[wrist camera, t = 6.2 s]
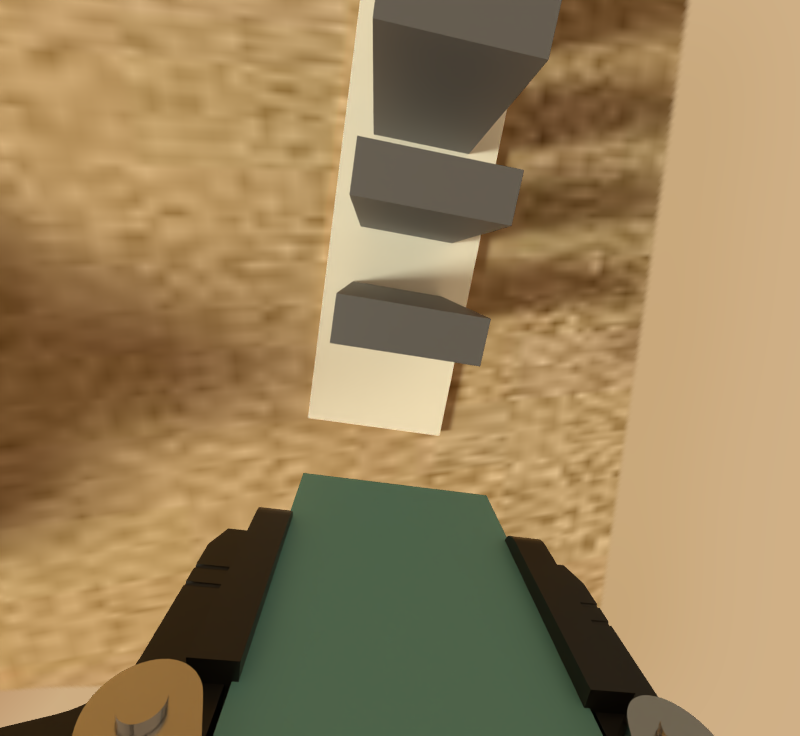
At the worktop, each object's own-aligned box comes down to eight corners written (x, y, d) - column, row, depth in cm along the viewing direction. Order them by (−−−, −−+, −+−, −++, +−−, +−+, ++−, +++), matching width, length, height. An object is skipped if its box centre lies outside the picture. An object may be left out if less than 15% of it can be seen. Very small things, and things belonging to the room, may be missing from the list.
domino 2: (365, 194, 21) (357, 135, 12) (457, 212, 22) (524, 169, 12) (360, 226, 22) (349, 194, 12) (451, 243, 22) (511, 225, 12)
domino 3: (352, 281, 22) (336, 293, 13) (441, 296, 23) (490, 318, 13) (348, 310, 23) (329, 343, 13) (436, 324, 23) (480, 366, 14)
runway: (372, -87, 19) (372, -98, 18) (535, -44, 20) (540, -53, 19) (309, 414, 25) (307, 417, 24) (437, 431, 25) (439, 435, 25)
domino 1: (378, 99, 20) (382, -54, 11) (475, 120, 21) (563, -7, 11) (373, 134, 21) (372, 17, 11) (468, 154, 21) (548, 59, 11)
